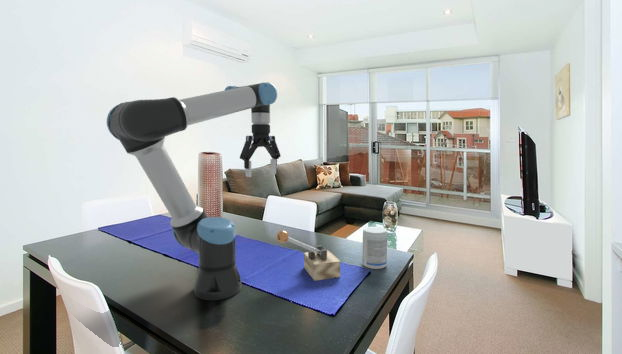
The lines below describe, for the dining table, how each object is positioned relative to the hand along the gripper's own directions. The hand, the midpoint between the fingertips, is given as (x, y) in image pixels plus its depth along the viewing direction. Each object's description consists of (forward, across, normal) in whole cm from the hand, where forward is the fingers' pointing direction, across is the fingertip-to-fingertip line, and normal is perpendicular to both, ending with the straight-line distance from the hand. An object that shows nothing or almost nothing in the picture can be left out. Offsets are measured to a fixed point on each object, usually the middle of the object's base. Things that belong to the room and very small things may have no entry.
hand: (261, 175), depth 130 cm
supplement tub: (+35, -22, +42) cm, 59 cm away
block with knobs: (+35, -3, +30) cm, 46 cm away
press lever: (+27, -3, +30) cm, 41 cm away
